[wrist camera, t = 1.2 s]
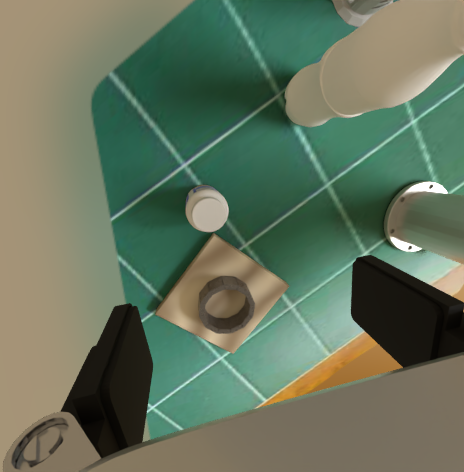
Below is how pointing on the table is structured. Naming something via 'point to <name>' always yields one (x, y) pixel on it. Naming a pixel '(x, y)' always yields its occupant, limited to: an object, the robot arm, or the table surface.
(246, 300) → the collar
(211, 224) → the pill bottle
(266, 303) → the stand plate
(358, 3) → the french press
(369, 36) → the water bottle
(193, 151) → the table surface
